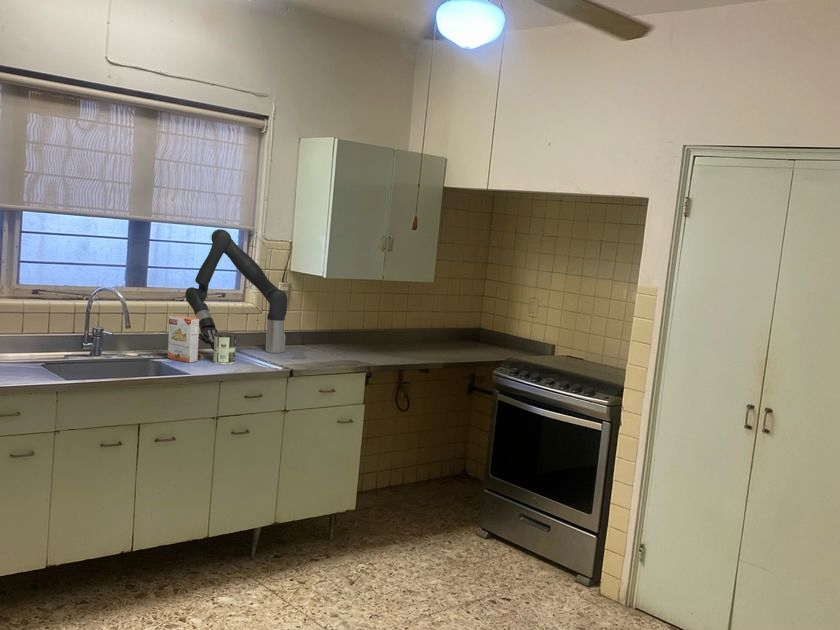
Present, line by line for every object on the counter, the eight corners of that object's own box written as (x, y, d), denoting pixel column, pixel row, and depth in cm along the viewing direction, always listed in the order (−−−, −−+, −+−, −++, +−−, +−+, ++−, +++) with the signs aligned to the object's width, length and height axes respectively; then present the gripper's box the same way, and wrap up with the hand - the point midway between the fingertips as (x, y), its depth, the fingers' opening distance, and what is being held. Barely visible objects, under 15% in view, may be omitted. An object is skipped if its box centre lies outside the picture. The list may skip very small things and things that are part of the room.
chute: (220, 354, 398) (220, 350, 398) (230, 358, 391) (230, 353, 391) (190, 356, 388) (191, 351, 387) (200, 360, 380) (200, 355, 380)
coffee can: (230, 360, 386) (231, 331, 385) (238, 364, 378) (239, 334, 376) (209, 360, 380) (211, 331, 379) (217, 364, 372) (218, 335, 370)
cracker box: (166, 359, 377) (168, 315, 375) (176, 357, 382) (177, 314, 380) (188, 363, 371) (190, 319, 368) (198, 361, 376) (199, 318, 374)
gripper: (195, 317, 386) (206, 345, 378) (220, 316, 395) (231, 344, 387) (190, 326, 390) (200, 354, 383) (214, 325, 399) (225, 353, 392)
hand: (215, 349), depth 385 cm, fingers closed
